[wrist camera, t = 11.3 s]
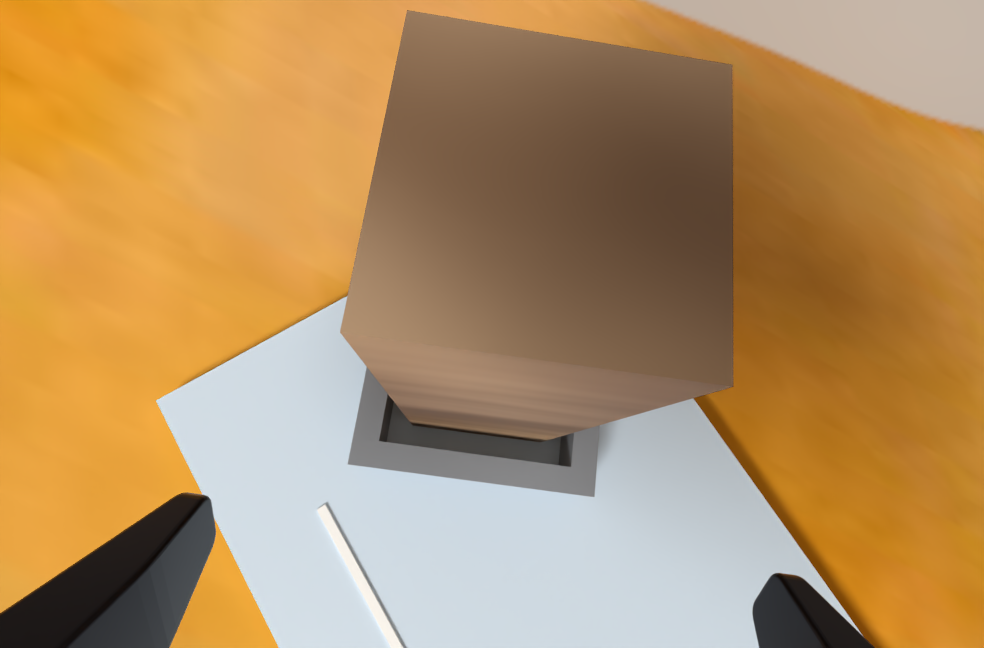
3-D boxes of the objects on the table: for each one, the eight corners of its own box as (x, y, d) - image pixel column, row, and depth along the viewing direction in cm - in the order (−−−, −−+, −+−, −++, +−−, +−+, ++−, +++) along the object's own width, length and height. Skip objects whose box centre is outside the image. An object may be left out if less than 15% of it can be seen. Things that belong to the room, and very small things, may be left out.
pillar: (540, 442, 19) (732, 385, 6) (412, 425, 18) (339, 332, 6) (552, 320, 20) (732, 64, 7) (432, 303, 20) (407, 10, 7)
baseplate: (937, 759, 18) (1026, 811, 15) (546, 1158, 14) (569, 1317, 12) (535, 191, 22) (547, 153, 19) (163, 394, 19) (115, 382, 16)
